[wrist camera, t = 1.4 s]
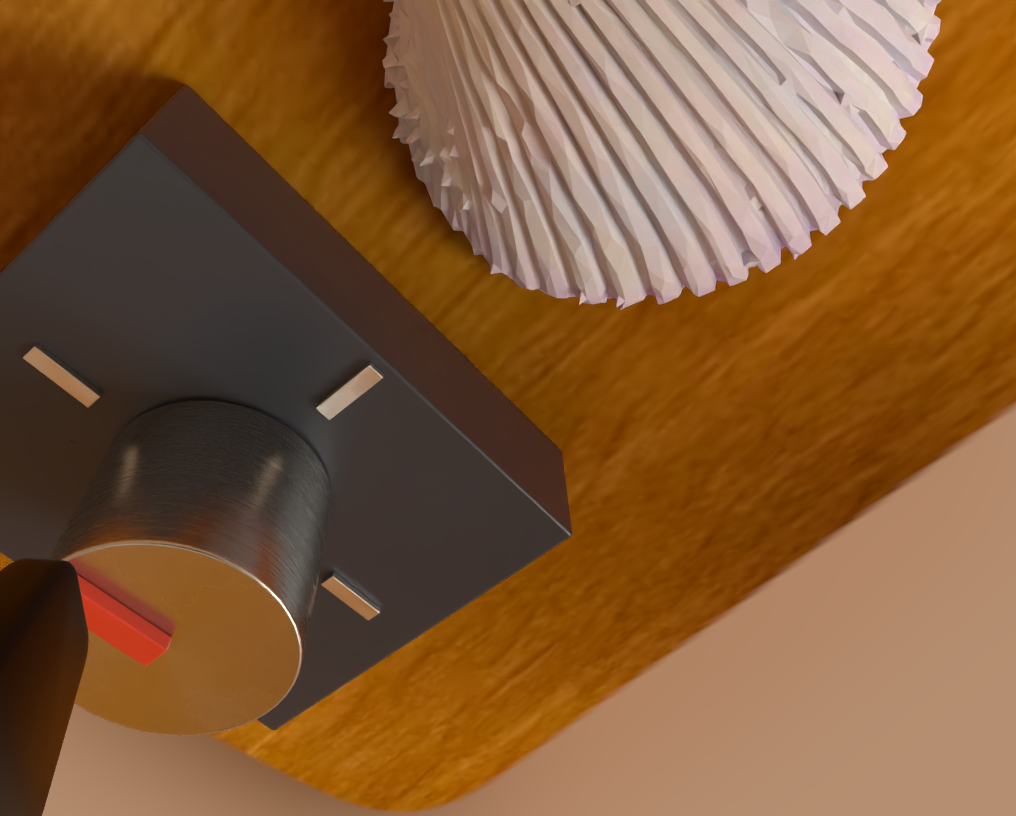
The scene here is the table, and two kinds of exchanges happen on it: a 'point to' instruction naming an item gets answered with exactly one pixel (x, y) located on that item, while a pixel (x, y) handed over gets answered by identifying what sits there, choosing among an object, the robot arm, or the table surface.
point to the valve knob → (197, 567)
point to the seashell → (650, 129)
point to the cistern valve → (266, 385)
